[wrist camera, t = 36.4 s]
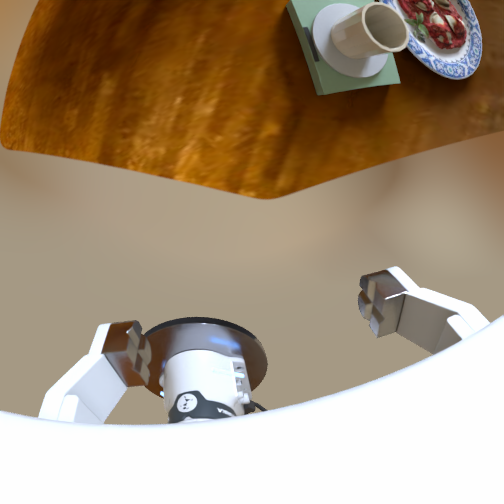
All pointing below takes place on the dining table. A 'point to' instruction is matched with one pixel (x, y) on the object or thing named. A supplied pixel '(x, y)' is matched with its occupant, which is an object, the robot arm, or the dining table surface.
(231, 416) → the robot arm
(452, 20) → the ceramic plate
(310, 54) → the scale
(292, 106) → the dining table surface
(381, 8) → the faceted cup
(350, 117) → the dining table surface
